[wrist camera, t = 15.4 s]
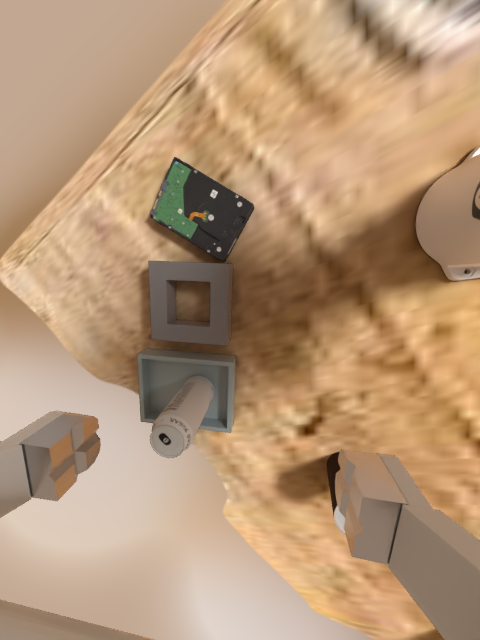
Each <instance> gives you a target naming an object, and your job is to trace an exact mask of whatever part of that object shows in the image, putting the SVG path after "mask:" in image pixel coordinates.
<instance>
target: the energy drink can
mask: <svg viewBox="0 0 480 640" xmlns="http://www.w3.org/2000/svg"><path fill="white" fill-rule="evenodd" d="M214 393H215V390H214V386H213V384H212V383H211V381H210V380H209V379H207V378H206V377H203V376H192V377H190V378H189V379H188V380H187V381H186V382H185V383H184V385H183V386H182V387H181V388H180V390H179V391H178V392H177V393H176V395H175V396H174V397H173V399H172V400H171V401H170V402H169V404H168V405H167V406H166V407H165V409H164V410H163V411H162V413H161V414H160V415H159V416H158V418H157V419H156V420H155V422H154V423H153V426H152V433H151V435H150V444H151V446H152V448H153V450H154V451H155V452H156V453H157V454H159V455H160V456H163V457H166V458H174V457H177V456H179V455H180V454H181V453H182V452H183V451H185V450H186V449H188V448H189V446H190V445H191V444H192V442H193V439H194V437H195V435H196V433H197V431H198V429H199V427H200V425H201V422H202V420H203V418H204V416H205V414H206V412H207V410H208V407H209V405H210V403H211V401H212V399H213V397H214Z"/></svg>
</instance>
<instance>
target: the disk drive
mask: <svg viewBox="0 0 480 640" xmlns="http://www.w3.org/2000/svg"><path fill="white" fill-rule="evenodd" d="M161 189H162V190H160V192H159V195H158V198H157V199H156V202H155V204H154V206H153V211H150V214H151V218H152V219H154V220H156V221H157V222H158V223H160V224H161V225H163V226H165V227H167V228H168V229H170V230H172V231H174V232H175V233H177V234H178V235H180V236H182V237H183V238H185V239H187V240H188V241H190V242H192V243H193V244H195V245H196V246H198V247H200V248H201V249H203V250H205V251H206V252H208V253H209V254H211V255H212V256H214V257H216V258H218V259H220V260H221V261H226V259H227V257H228V255H229V254H230V252H231V250H232V248H233V246H234V245H235V243H236V241H237V239H238V238H239V236H240V234H241V232H242V230H243V228H244V227H245V225H246V223H247V221H248V219H249V217H250V216H251V214H252V212H253V210H254V205H253V204H252V203H251V202H249V201H248V200H247V199H245V198H243V197H242V196H240V195H238V194H236V193H234V192H233V191H231V190H229V189H228V188H226V187H224V186H223V185H221V184H219V183H218V182H216V181H214V180H213V179H211V178H209V177H208V176H206V175H205V174H203V173H201V172H200V171H198V170H196V169H194V168H193V167H192V166H190V165H189V164H187V163H185V162H183V161H181V160H180V159H178V158H176V157H174V159H173V161H172V163H171V166H170V168H169V170H168V172H167V175H166V177H165V180H164V181H163V183H162V185H161Z"/></svg>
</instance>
